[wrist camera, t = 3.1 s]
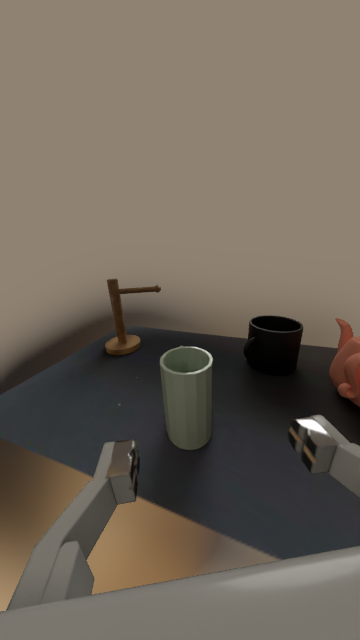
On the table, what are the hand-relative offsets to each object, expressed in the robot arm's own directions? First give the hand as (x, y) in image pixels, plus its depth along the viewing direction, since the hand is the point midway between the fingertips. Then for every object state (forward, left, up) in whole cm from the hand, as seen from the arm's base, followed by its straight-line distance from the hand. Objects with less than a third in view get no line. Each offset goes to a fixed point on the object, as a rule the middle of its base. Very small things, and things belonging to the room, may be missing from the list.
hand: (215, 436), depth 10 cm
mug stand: (-14, +38, -14) cm, 43 cm away
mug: (+16, +26, -14) cm, 34 cm away
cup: (-1, +14, -14) cm, 20 cm away
